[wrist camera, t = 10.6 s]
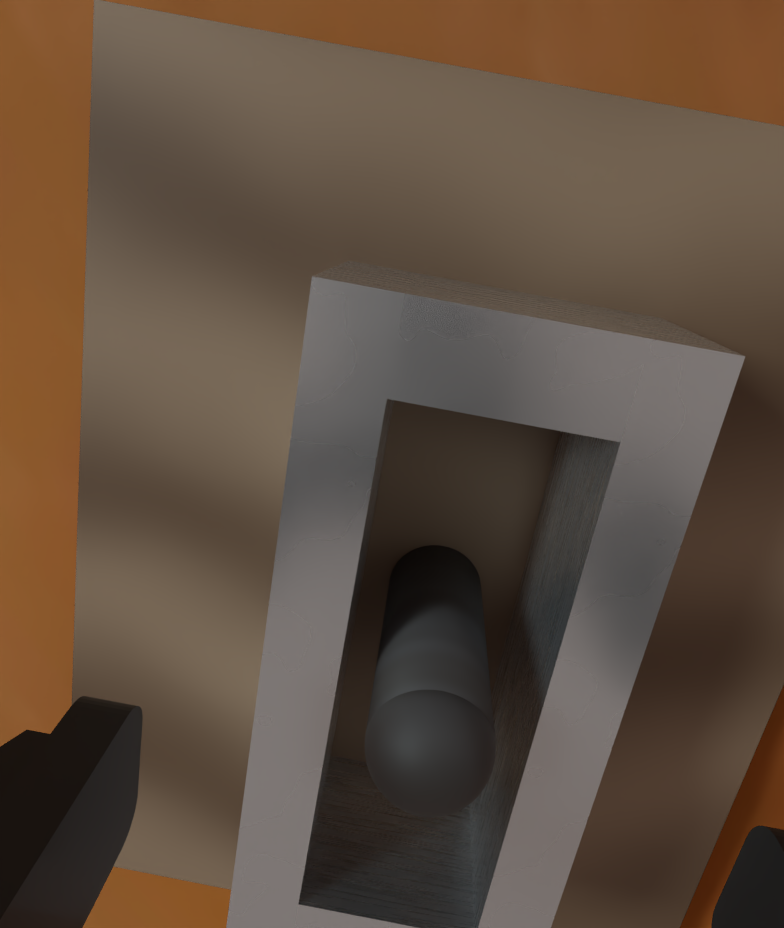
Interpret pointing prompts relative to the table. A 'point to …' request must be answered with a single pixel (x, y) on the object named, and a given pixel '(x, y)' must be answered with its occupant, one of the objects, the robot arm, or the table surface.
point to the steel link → (535, 613)
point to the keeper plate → (406, 424)
